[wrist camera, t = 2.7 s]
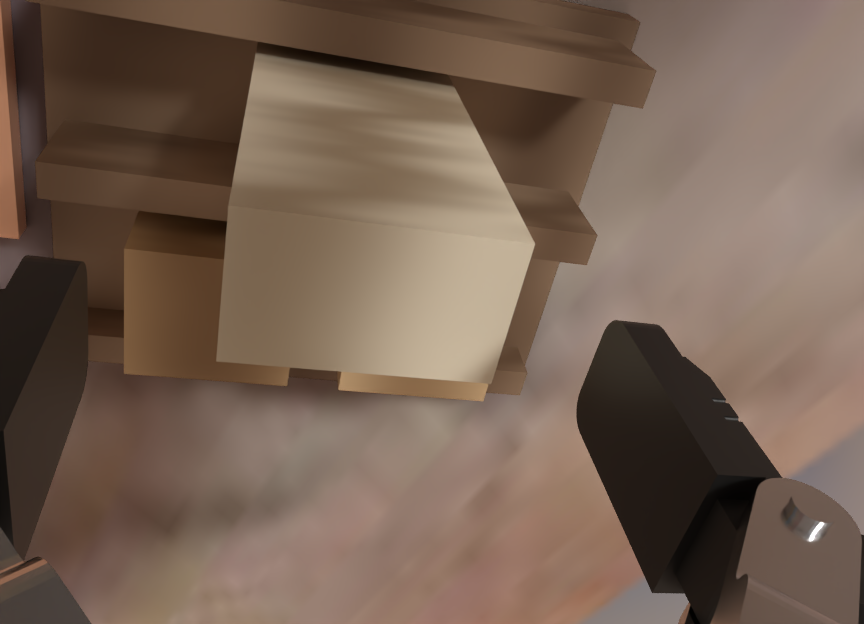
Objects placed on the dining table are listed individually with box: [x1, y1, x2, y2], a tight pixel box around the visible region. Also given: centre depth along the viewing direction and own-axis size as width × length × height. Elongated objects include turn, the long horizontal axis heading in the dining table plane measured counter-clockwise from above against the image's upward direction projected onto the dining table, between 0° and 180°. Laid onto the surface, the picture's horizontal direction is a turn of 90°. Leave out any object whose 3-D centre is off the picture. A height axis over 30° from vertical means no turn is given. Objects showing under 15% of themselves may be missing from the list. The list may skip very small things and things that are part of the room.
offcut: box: [124, 211, 290, 386], centre depth 23 cm, size 4×4×4 cm
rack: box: [25, 0, 656, 395], centre depth 23 cm, size 16×13×4 cm
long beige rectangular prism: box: [216, 42, 535, 384], centre depth 18 cm, size 5×3×11 cm, turn 78°
